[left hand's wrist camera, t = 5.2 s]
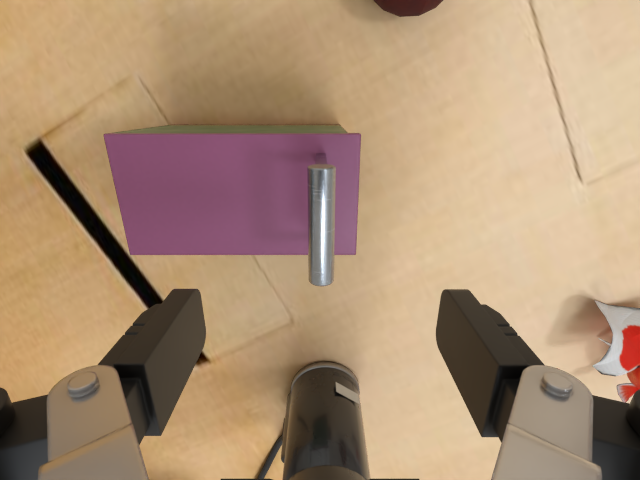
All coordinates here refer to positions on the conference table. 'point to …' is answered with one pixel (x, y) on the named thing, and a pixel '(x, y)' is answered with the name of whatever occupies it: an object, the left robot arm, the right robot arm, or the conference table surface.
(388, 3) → the potato
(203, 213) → the lid
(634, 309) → the fish
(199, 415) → the conference table surface
